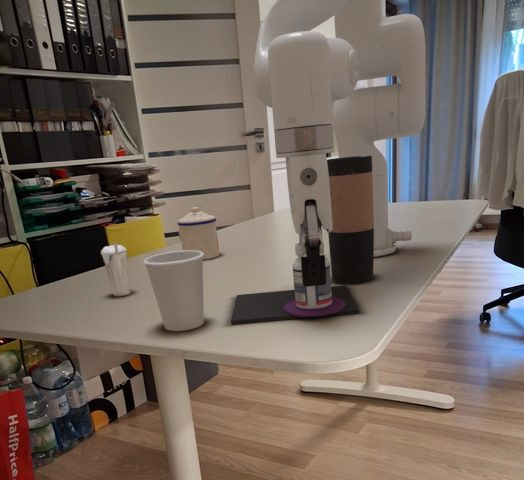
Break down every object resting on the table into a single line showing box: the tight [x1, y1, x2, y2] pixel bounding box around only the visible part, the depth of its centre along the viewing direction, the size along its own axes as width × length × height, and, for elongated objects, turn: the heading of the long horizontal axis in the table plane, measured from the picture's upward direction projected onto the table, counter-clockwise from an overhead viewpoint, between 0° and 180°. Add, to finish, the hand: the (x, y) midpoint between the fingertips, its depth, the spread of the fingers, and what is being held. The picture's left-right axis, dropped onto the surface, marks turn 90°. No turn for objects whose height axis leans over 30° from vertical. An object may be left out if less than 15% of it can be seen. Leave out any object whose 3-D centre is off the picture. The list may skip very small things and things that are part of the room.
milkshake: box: [100, 241, 132, 297], centre depth 95 cm, size 4×5×10 cm
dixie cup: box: [143, 250, 205, 332], centre depth 74 cm, size 8×8×10 cm
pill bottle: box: [292, 242, 332, 310], centre depth 74 cm, size 5×5×9 cm
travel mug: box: [327, 156, 375, 285], centre depth 88 cm, size 8×8×20 cm
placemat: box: [230, 284, 360, 325], centre depth 79 cm, size 18×16×1 cm
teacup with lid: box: [177, 206, 220, 261], centre depth 124 cm, size 12×9×12 cm
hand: (312, 278), depth 74 cm, fingers closed on pill bottle, 5 cm apart
